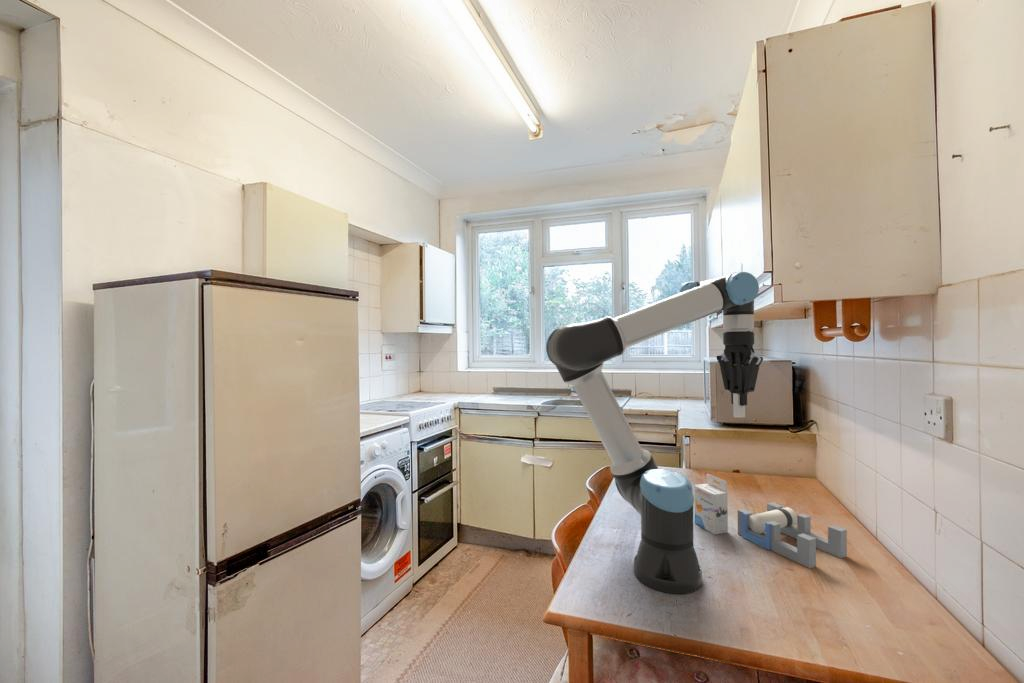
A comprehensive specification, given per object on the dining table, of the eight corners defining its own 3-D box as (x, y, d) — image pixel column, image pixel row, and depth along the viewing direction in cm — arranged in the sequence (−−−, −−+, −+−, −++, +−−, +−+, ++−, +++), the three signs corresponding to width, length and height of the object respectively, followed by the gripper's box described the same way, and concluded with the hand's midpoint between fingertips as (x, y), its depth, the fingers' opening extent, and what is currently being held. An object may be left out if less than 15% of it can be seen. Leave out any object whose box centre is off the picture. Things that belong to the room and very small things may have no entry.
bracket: (807, 568, 103) (807, 540, 103) (736, 534, 121) (736, 510, 121) (848, 555, 108) (848, 529, 108) (774, 524, 127) (774, 502, 127)
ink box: (693, 523, 129) (693, 474, 129) (707, 520, 130) (706, 472, 130) (714, 535, 121) (714, 483, 121) (728, 532, 122) (728, 481, 122)
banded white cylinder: (766, 535, 114) (761, 516, 115) (750, 532, 118) (746, 513, 119) (799, 526, 119) (795, 508, 120) (783, 524, 123) (779, 506, 124)
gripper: (770, 330, 112) (771, 419, 112) (728, 331, 124) (729, 412, 124) (749, 330, 109) (750, 422, 109) (708, 331, 121) (709, 414, 121)
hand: (739, 416), depth 116 cm, fingers closed
